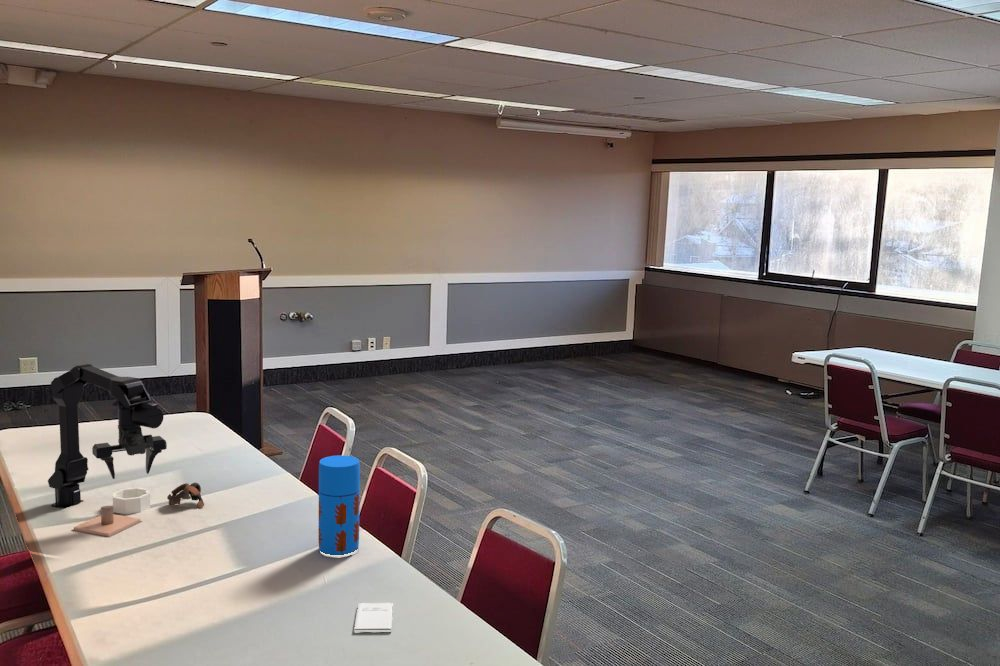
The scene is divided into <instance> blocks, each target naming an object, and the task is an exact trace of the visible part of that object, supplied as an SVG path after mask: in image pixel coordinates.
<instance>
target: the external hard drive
mask: <svg viewBox="0 0 1000 666" xmlns="http://www.w3.org/2000/svg"><path fill="white" fill-rule="evenodd" d="M392 606H393V607H394V603H393V602H360V603H358V604H357V608H358V609H357V610H356V614H355V621H354V626H355V627H353V631H354V630H391V628H393V627H392V626H393V617H392V612H393V613H394V610H393V611H392Z"/></svg>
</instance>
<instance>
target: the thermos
mask: <svg viewBox="0 0 1000 666" xmlns="http://www.w3.org/2000/svg"><path fill="white" fill-rule="evenodd" d="M360 479H361V467H360V459H359V458H357V457H355V456H352V455H331V456H330V455H329V456H326V457H323V458H321V459H320V460H319V464H318V551H319V550H320V551H321V552H323V553H325V554H330V555H344V554H348V553H351V552H354V551H355V550H357V549H358V550H359V548H360V547H359V546H360V545H359V544H360V500H361V499H360V495H361V494H360V493H361V490H360V489H361V487H360V485H361V482H360V481H361V480H360Z"/></svg>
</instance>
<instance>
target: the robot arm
mask: <svg viewBox="0 0 1000 666" xmlns="http://www.w3.org/2000/svg"><path fill="white" fill-rule="evenodd" d="M87 384H91V385H94V386H96V387H99V388H101V389H103V390H106V391H107V392H109V395H110V396H111V397H112V398H114V399H115V401H114V402H113V403H112V406H113V407H116V408H117V409H118V410H117V414H118V415H117V421H118V424H117V429H118V441H117V442H118V444H114V445H111V444H109V443H108V442H101V443H94V445H93V446H92V448H91V449H92V451H91V452H92V455H93V456H94V457H95V458H96V459H98V460H99V459H100V460H101V461H102V462H103V461H104V463H105V465H106V466H107V469H108V471H109V473H110V476H111V478H112V479H113V480H115V478H116V477H115V476H116V473H115V472H116V471H115V467H114V459H115V458H114V456H113V453H117V452H118V453H119V452H126V454H127V455H128V456H135V455H144V454H145V472H146V474H149V473H150V471H151V468H152V466H153V462H154V460H155V458H156V456H157V455H158V454H160V453H162V451H165V450H167V447H168V446H167V440H165V439H164V438H163V437H162V436H161V435H156V436H154V435H152V434H145V435H143V431H142V427H144V428H145V427H146V428H148V429H158V428H159V427H161V425H162V423H163V421H164V416H165V415H164V413H163V411H162V409H160V408H158V403H155V402H154V403H152V401H153V400H152V399H151V395H150V394H149V393H148V391H147V389H146V388H145V386H144V383H143V381H142V380H141V379H140V378H139V377H132V376H119V375H116V374H113V373H112V372H111V373H110V372H109V371H105V370H103V369H100V368H98V367H95V366H94V365H92V364H91V363H90V364H89V363H84V364H83V363H82V364H79V365H75V366H74V367H72V368H71V369H70V370H68V371H66V372H64V373H63V374H61V375H59V376H57V377H55V378H53V379H52V380H51V382H50V389H51V390H50V392H51V396H52V399H53V400H54V401H55V402H56V404H57V405H58V416H59V419H58V420H59V437H60V438H59V439H60V453H59V455H58V457H57V459H56V461H55V463H54V464H55V465H54V472H53V473H52V475H50V477H49V478H48V480H47V484H48V486H49V487H50V488H52V489H54V496H55V497H54V498H55V499H54V500H55V502H53V503H51V505H52V506H51V507H55V506H58V507H57V508H62V509H67V508H71V507H73V506H76V505H78V504H81V503H83V502H85V500H84V499H82V497H81V489H80V484H82V483H85V481H86V480H85V479H86V476H87V474H88V471H89V467H88V462H89V460H88V457H85V456H84V455H83V454H82V453H81V450H80V432H79V431H80V430H79V429H80V428H79V427H80V426H79V408H78V407H79V403H80V402H81V400H82V398H83V396H84V389H85V388H84V387H85V386H87Z"/></svg>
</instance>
